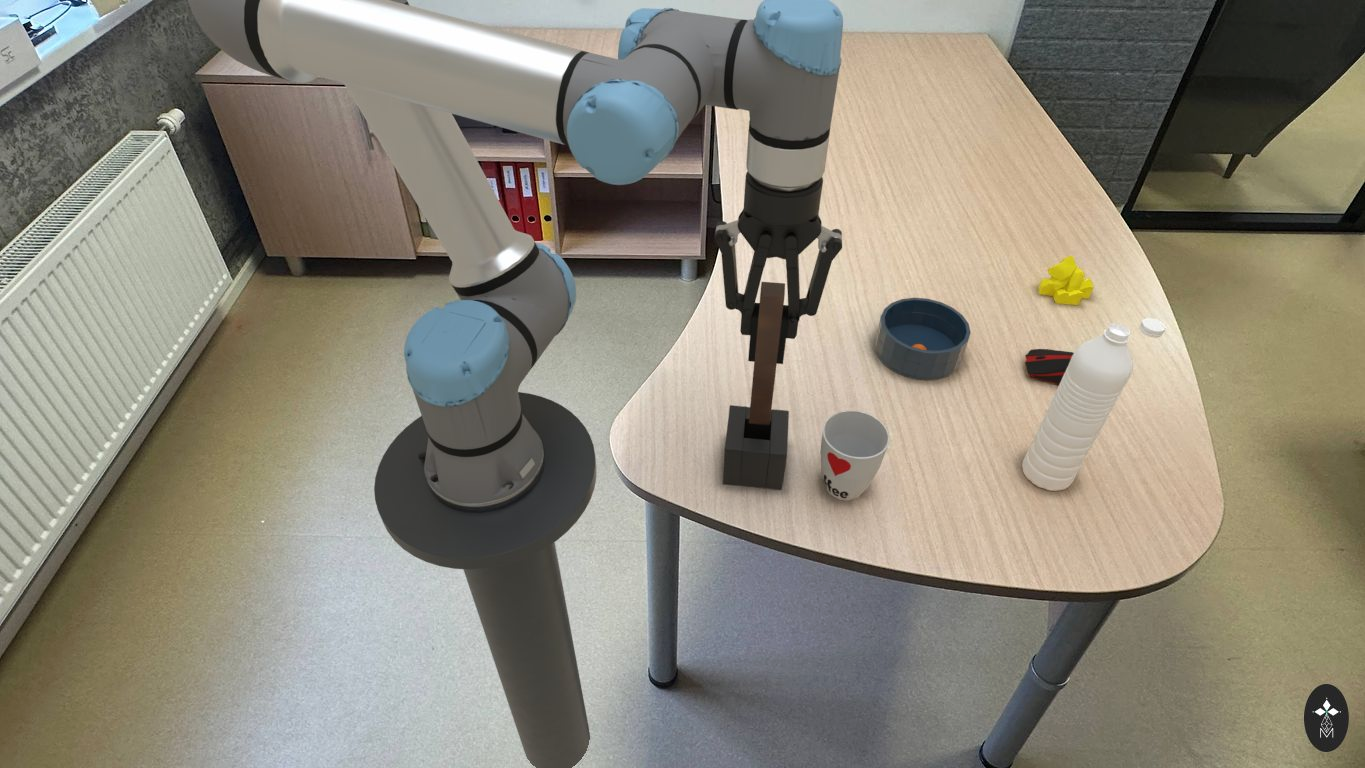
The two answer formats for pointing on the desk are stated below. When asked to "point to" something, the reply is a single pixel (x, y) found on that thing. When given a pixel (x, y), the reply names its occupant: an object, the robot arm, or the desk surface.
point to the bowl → (921, 338)
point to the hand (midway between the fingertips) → (766, 354)
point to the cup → (851, 452)
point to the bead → (919, 346)
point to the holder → (755, 450)
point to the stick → (766, 351)
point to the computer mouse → (1047, 364)
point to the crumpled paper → (1066, 283)
